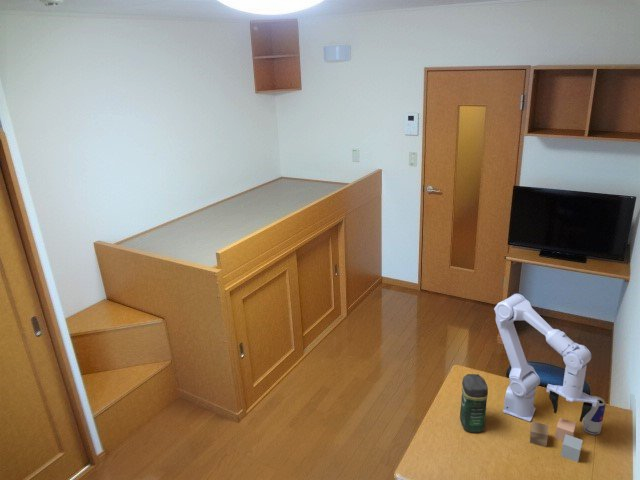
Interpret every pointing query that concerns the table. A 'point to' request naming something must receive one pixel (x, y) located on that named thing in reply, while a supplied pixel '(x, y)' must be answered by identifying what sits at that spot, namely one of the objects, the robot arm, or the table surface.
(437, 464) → the table surface
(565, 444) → the slate block
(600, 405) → the energy drink
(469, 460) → the table surface
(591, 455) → the table surface
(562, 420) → the terracotta block
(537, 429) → the walnut block
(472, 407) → the coffee jar
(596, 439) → the table surface
